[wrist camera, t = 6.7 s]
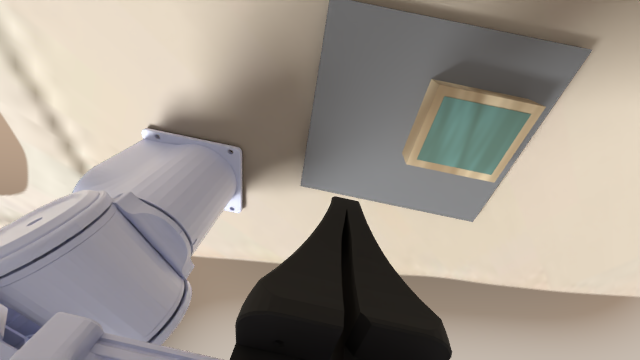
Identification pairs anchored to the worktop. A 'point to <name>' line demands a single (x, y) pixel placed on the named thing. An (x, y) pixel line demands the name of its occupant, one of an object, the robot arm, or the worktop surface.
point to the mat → (414, 100)
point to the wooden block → (468, 130)
